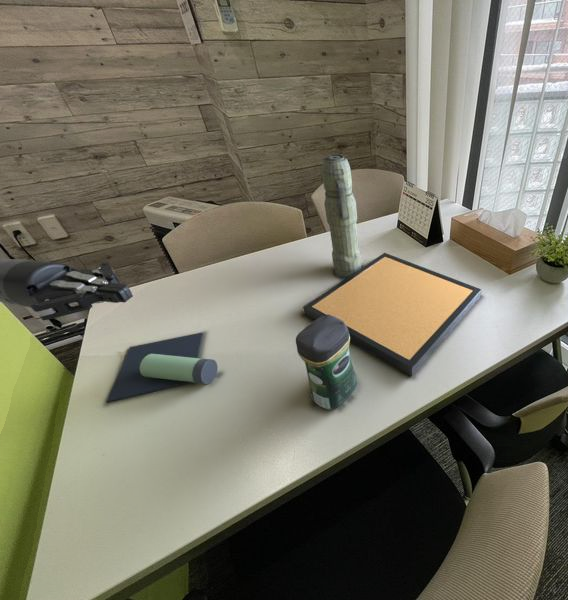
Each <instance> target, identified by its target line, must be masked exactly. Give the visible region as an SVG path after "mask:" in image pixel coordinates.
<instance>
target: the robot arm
mask: <svg viewBox="0 0 568 600" xmlns="http://www.w3.org/2000/svg"><path fill="white" fill-rule="evenodd" d="M117 274H118V273H116V271H115V269H114V268H113V267H112V265H111V264H110V262H109V261H103V262H101V263H99V267H97V268H96V269H93V270H92V269H90V268H80V269H79V268H78V269H76V268H74V267H72V266H69V265H67V264H65V263H61V262H55V261H54V262H53V261H43V260H34V259H24V258H23V259H22V258H14V259H13V258H12V259H11V258H10V259H9V258H0V303H3V304H7V305H11V306H18V307H25V308H31V309H32V311H33V312H34V313H35V314H36V315H37V316H38V317H39V318H40V319H41V320H42V321H48V320H53V319H57V318H60V317H64V316H69V315H72V314H76V313H80V312H85V311H89V310H90V309H92V308H93V306H94V305H93V304H103V303H105V302H106V303H112V304H118V303H126V302H127V301H129V300H130V299H132V298H133V296H134V295H133V292H132V291H131V289H130V287H129V286H128V285H127V284H124V283H121V282H120V279H119V277H118V275H117Z"/></svg>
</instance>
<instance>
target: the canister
mask: <svg viewBox="0 0 568 600" xmlns="http://www.w3.org/2000/svg"><path fill="white" fill-rule="evenodd" d="M140 373H141V374H142V375H143V376H144V377H151V378H160V379H169V380H178V381H187V382H193V383H195V384H203V385H209V384H211V383H212V382H213V381H214V380H215V378H216V376H217V373H218V363H217V361H216V360H215V359H212V358H199V357H198V358H189V357H180V356H170V355H160V354H149V355H147V356H146V357H145V358H144V359H143V360H142V362H141V364H140Z"/></svg>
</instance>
